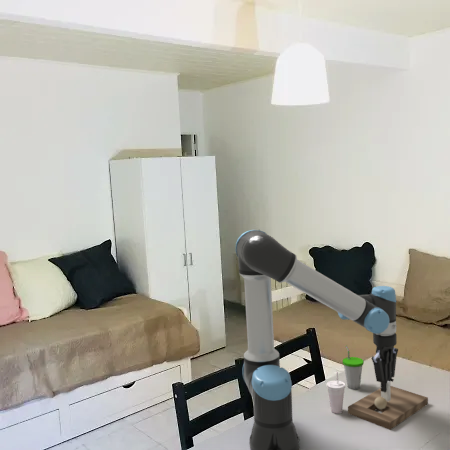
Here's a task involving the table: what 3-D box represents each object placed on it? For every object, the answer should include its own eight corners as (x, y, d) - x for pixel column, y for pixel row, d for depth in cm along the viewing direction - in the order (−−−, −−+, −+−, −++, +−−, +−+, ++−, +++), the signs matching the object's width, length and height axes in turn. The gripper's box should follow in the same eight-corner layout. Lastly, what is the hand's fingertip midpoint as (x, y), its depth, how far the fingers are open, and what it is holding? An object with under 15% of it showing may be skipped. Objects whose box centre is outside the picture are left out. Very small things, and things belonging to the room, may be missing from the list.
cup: (365, 391, 192) (364, 352, 190) (343, 391, 193) (342, 352, 192) (363, 382, 200) (362, 345, 198) (342, 382, 201) (341, 345, 199)
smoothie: (346, 415, 174) (345, 375, 173) (327, 414, 176) (325, 375, 174) (345, 407, 181) (344, 368, 179) (327, 406, 182) (325, 367, 180)
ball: (384, 397, 172) (390, 399, 174) (373, 394, 175) (379, 396, 177) (381, 410, 171) (387, 411, 173) (371, 406, 174) (377, 407, 176)
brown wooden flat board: (390, 429, 164) (390, 422, 163) (348, 413, 176) (347, 406, 175) (427, 404, 179) (427, 397, 179) (386, 391, 191) (386, 384, 191)
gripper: (383, 339, 167) (385, 409, 169) (405, 330, 175) (406, 396, 178) (363, 335, 172) (365, 402, 175) (385, 325, 181) (386, 390, 183)
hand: (385, 399), depth 176 cm, fingers closed
